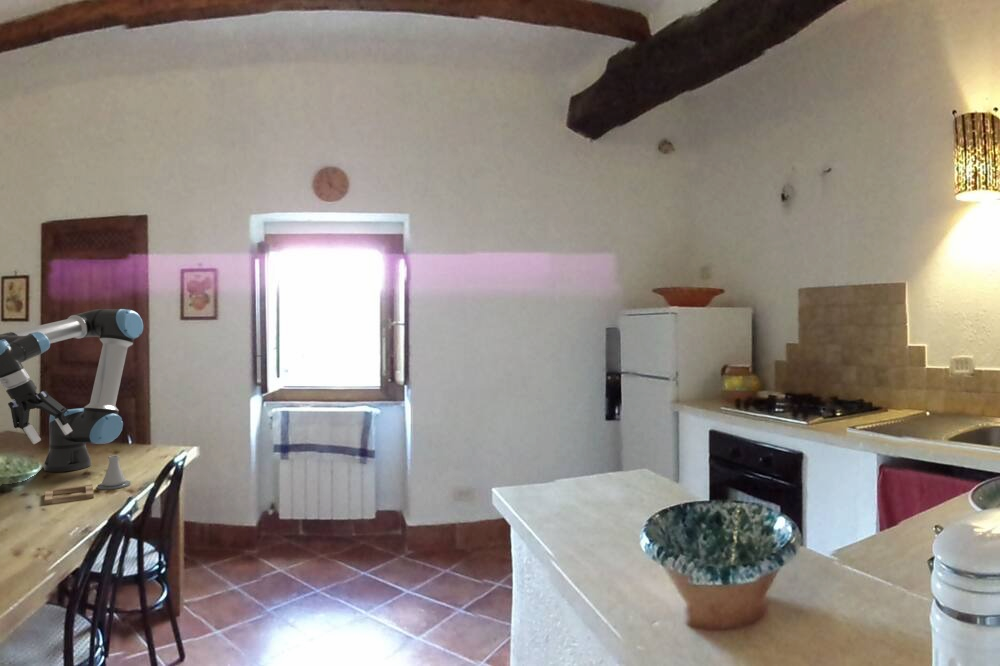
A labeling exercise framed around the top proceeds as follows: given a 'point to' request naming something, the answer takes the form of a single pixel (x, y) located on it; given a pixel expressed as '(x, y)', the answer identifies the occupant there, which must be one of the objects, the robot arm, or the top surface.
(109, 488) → the coaster
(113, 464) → the flask
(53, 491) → the holder
